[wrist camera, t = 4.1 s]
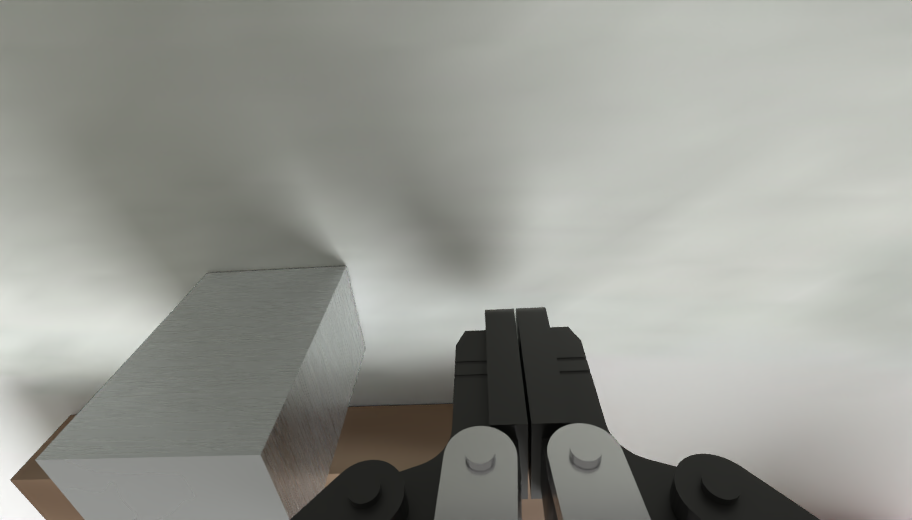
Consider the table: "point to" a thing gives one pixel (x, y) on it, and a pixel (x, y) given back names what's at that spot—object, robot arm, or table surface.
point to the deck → (362, 438)
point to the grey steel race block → (220, 404)
